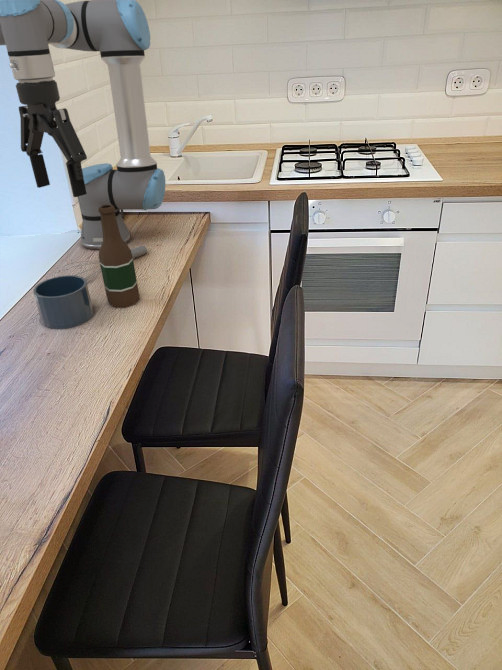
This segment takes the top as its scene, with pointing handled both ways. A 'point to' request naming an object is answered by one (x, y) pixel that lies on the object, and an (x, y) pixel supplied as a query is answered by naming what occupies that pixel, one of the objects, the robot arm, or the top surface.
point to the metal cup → (63, 301)
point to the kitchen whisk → (135, 253)
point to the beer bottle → (116, 262)
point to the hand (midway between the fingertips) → (61, 190)
